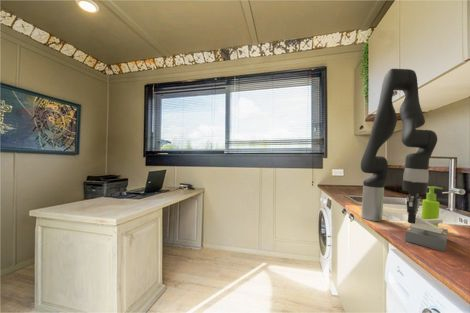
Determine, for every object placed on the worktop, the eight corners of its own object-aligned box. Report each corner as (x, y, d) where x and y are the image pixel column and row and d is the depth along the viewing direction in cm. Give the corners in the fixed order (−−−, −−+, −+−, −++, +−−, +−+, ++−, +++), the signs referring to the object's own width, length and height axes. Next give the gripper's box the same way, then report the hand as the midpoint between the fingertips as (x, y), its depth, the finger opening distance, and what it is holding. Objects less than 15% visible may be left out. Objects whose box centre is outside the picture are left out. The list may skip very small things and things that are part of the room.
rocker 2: (416, 218, 87) (417, 216, 87) (440, 232, 82) (442, 229, 81) (414, 219, 85) (416, 217, 85) (440, 233, 80) (442, 231, 79)
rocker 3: (412, 224, 84) (412, 221, 84) (441, 231, 78) (441, 228, 77) (410, 226, 82) (411, 223, 82) (440, 233, 75) (441, 230, 75)
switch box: (412, 230, 94) (412, 218, 94) (447, 238, 86) (448, 226, 86) (404, 240, 82) (405, 227, 82) (444, 251, 74) (445, 236, 73)
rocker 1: (417, 222, 92) (416, 219, 92) (442, 221, 86) (441, 218, 86) (416, 224, 89) (415, 221, 90) (442, 222, 84) (441, 219, 84)
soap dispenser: (443, 231, 94) (446, 188, 94) (426, 229, 96) (429, 187, 95) (434, 227, 100) (437, 186, 100) (417, 225, 101) (420, 185, 101)
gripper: (406, 177, 89) (402, 217, 90) (399, 179, 80) (396, 223, 81) (429, 180, 84) (426, 222, 84) (426, 182, 75) (421, 229, 75)
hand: (411, 222), depth 83 cm, fingers closed
